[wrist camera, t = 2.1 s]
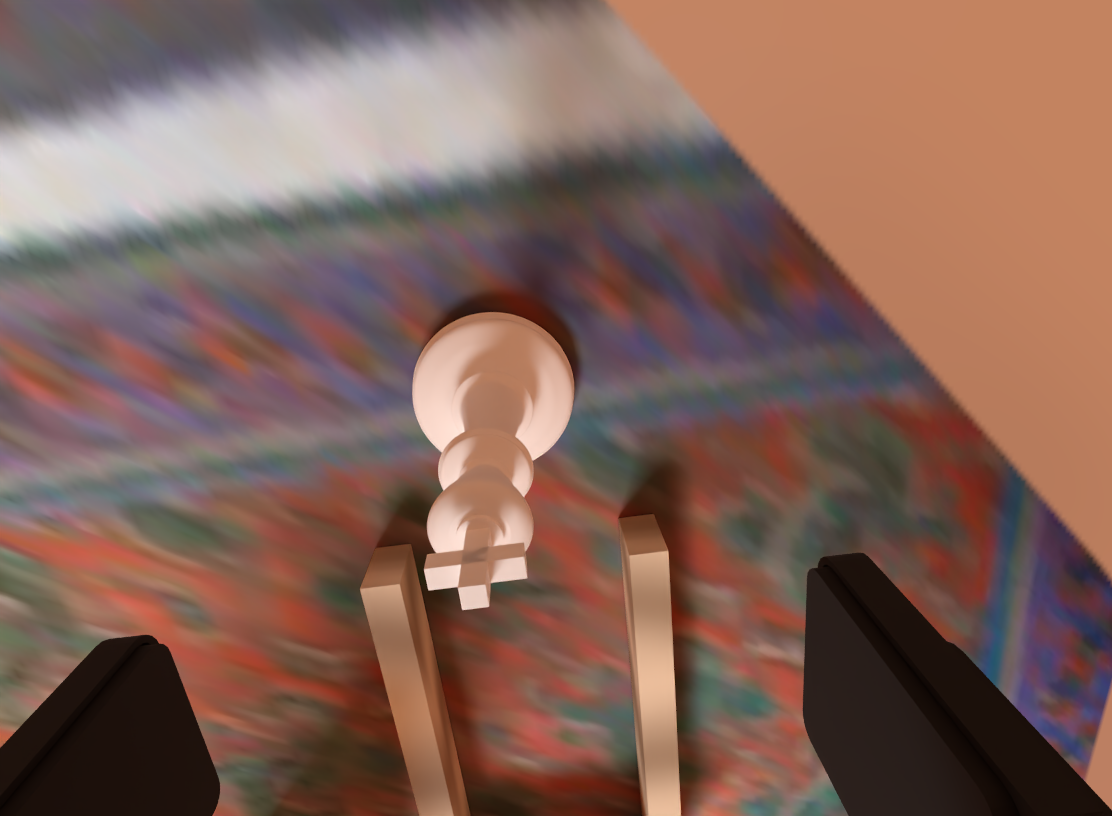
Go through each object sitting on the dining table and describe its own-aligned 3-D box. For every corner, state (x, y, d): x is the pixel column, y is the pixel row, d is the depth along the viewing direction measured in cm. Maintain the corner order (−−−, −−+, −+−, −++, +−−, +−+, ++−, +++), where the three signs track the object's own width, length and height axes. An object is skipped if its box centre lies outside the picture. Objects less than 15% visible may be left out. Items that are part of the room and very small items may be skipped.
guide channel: (374, 548, 21) (344, 629, 17) (653, 513, 21) (683, 587, 17) (453, 867, 27) (442, 980, 23) (671, 838, 27) (696, 945, 23)
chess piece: (398, 321, 18) (277, 478, 9) (565, 302, 18) (616, 437, 9) (428, 472, 20) (353, 732, 11) (580, 453, 20) (636, 696, 11)
